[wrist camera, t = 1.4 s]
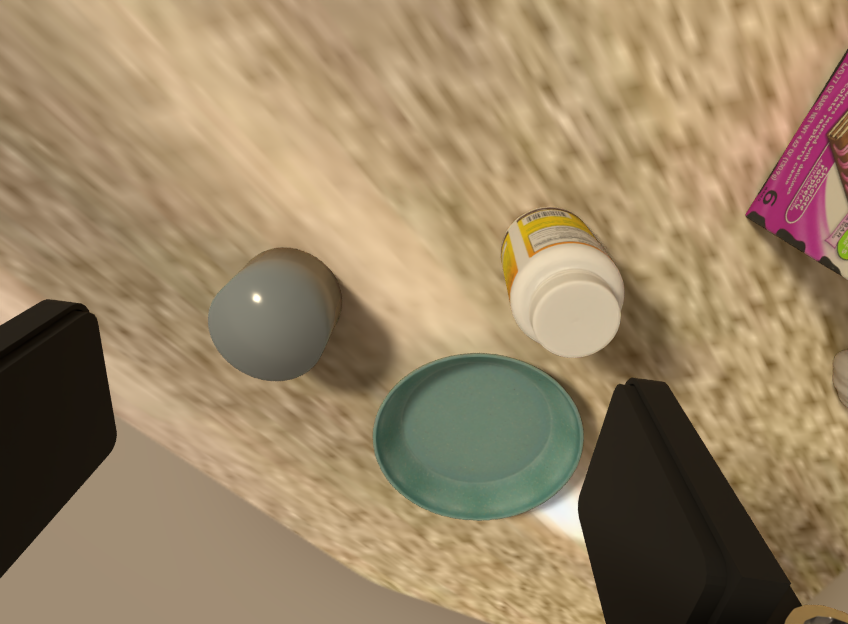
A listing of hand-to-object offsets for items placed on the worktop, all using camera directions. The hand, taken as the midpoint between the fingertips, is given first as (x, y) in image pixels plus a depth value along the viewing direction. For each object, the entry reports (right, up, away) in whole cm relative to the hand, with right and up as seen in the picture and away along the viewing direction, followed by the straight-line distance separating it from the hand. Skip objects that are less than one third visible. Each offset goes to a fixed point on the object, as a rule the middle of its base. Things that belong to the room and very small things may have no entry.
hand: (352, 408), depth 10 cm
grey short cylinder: (-8, +3, +26) cm, 28 cm away
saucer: (+5, -6, +30) cm, 31 cm away
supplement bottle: (+9, +6, +24) cm, 26 cm away
